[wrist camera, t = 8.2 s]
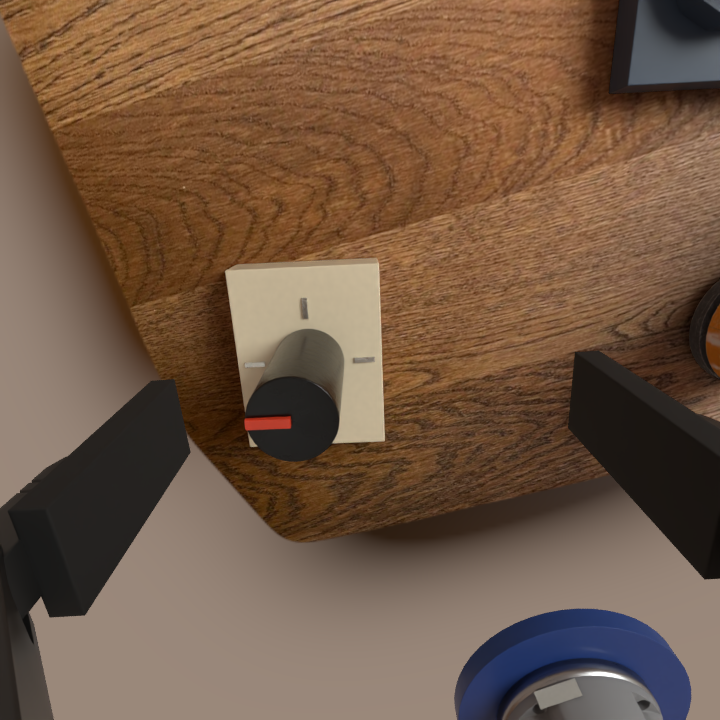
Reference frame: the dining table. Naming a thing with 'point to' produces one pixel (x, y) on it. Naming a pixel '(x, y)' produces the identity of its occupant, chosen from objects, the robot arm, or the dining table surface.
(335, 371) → the dial
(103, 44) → the dining table surface
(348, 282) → the panel
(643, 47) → the button box
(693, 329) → the canister
